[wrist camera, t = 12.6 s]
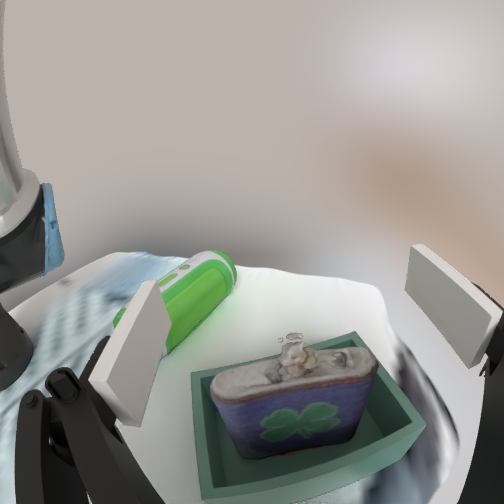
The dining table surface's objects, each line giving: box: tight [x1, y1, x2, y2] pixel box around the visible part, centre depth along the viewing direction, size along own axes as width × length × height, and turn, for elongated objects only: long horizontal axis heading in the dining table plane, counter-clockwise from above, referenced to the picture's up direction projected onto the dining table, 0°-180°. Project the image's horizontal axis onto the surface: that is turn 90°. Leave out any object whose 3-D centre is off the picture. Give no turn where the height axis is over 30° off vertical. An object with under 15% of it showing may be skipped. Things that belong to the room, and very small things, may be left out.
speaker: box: [113, 250, 237, 358], centre depth 33 cm, size 18×7×8 cm, turn 152°
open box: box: [191, 331, 427, 504], centre depth 16 cm, size 10×13×6 cm
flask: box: [210, 333, 379, 460], centre depth 14 cm, size 9×3×11 cm, turn 94°
